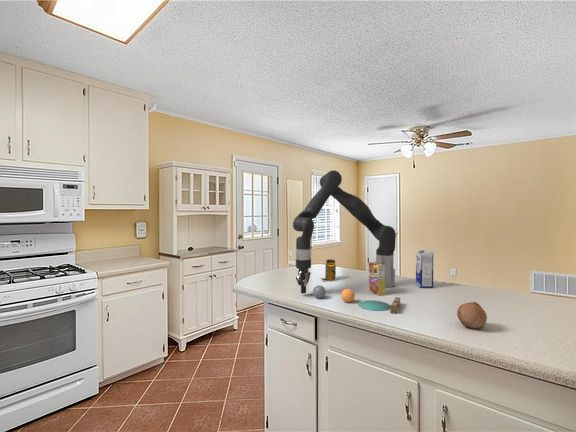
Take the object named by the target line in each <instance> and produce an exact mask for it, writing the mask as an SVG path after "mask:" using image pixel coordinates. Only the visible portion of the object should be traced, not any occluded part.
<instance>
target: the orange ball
mask: <svg viewBox="0 0 576 432" xmlns="http://www.w3.org/2000/svg"><path fill="white" fill-rule="evenodd" d="M340 296H341V300H343V301H344V302H346V303H351V302H353V301H354V300H355V292H354V290H352V289H350V288H344V289H343V290H342V291H341V294H340Z"/></svg>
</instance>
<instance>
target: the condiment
mask: <svg viewBox="0 0 576 432" xmlns="http://www.w3.org/2000/svg"><path fill="white" fill-rule="evenodd" d="M324 268H325V270H324V271H325V277H324V278H323V277H321V278H320V280H321V281H323V282H338V280H337V279H336V277H337V275H336V274H337V273H336V272H337V270H336V268H337V267H336V259H326V260H325V267H324Z"/></svg>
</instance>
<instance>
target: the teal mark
mask: <svg viewBox="0 0 576 432" xmlns="http://www.w3.org/2000/svg"><path fill="white" fill-rule="evenodd" d="M357 305H358V307H360V308H361V309H365V310H368V311H373V312H375V311H376V312H379V311H380V312H382V311H383V312H384V311H388V310H391V304H389V303H388V302H385V301H381V300H362V301H359V302H358V303H357Z"/></svg>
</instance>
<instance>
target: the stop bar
mask: <svg viewBox="0 0 576 432" xmlns="http://www.w3.org/2000/svg"><path fill="white" fill-rule="evenodd" d="M390 306H391V308H390V314H394V315H395V314H397V312H398V310H399V308H400V307H401V297H397V296H395V298H394V300H393V301H392V303H391V304H390Z"/></svg>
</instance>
